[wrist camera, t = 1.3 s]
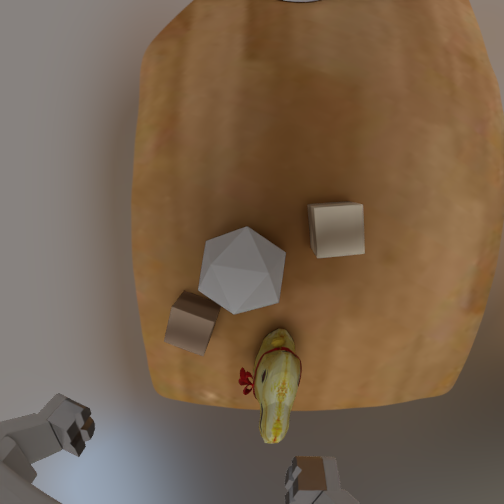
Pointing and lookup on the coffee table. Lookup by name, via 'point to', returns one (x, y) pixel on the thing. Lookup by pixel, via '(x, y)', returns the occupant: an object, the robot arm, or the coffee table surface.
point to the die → (242, 271)
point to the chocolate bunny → (274, 383)
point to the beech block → (336, 229)
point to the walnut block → (191, 323)
